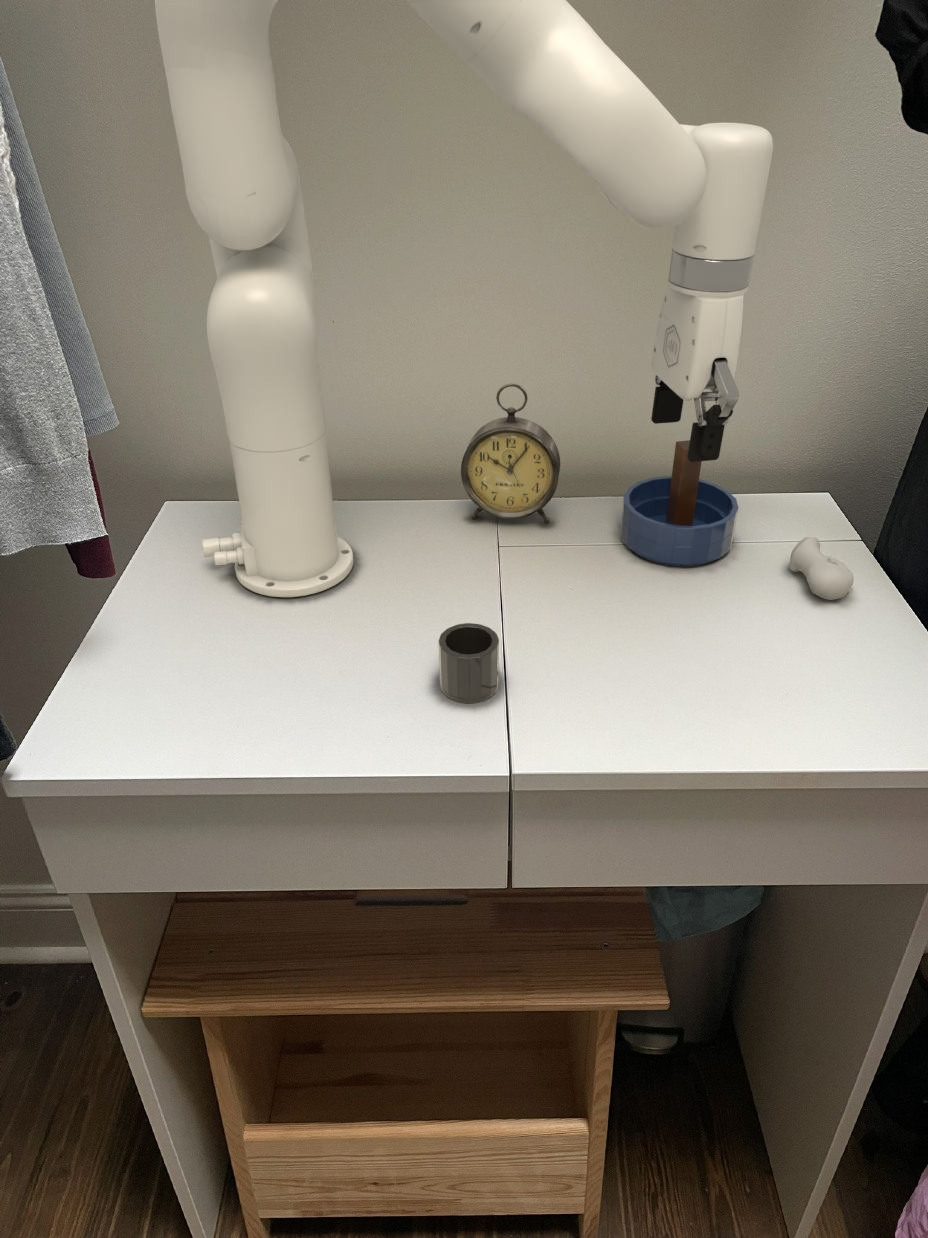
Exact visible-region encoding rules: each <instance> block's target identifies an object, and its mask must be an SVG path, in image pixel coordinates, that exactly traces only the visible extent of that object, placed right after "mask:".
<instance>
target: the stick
mask: <svg viewBox="0 0 928 1238" xmlns="http://www.w3.org/2000/svg"><path fill="white" fill-rule="evenodd" d="M689 443H690V439H689V440H679V441H675V446H674V447H675V448H674V454H673V462H672V471H671V476H672V478H671V486H670V494H669V502H668V510H667V518H666V523H667V524H672V525H680V526H692V525H693V518H694V511H695V504H696V497H697V490H698V483H699V479H700V476H701V468H702V462H703V461H698V462H690V461H689V459H688V458H687V456H688V449H689Z"/></svg>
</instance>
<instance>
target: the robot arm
mask: <svg viewBox="0 0 928 1238" xmlns="http://www.w3.org/2000/svg"><path fill="white" fill-rule="evenodd" d="M278 1H279V0H154V10H155V18H156V27H157V35H158V39H159V45H160V51H161V57H162V61H163V68H164V72H165V79H166V85H167V90H168V97H169V103H170V110H171V114H172V115H171V116H172V119H173V125H174V131H175V135H176V141H177V145H178V151H179V155H180V160H181V161H180V162H181V168H182V174H183V180H184V189H185V195H186V199H187V202H188V206H189V209H190V212H191V213H192V215H193V217H194V220H195V221H196V223H197V224H198V226H199V227H200V228H201V230H202V231H203V232H204V233H205V234H206V236H208V241H209V245H210V249H211V255H212V260H213V264H214V270H215V273H216V274H215V275H216V281H215V283H214V286H213V287H212V288H213V289H212V291H211V294H210V297H209V301H208V305H207V310H206V311H207V312H206V337H207V344H208V349H209V353H210V358H211V361H212V366H213V369H214V374H215V377H216V382H217V386H218V391H219V394H220V399H221V406H222V410H223V416H224V422H225V429H226V434H227V439H228V444H229V450H230V456H231V462H232V467H233V475H234V480H235V486H236V492H237V497H238V504H239V510H240V517H241V523H240V532H233V533H232V534H231V536H227V537H226V536H225V537H210V538H202V539H201V545H202V552H203V557H204V558H210V557H213V558H214V564H215V566H223V565H228V564H234V571H235V576H236V579H237V580H238V582H239V583H240V584H241V585H242V586H243V587H244V588H245V589H248V590H249V591H251V592H253V593H257V594H258V595H262V596H267V597H273V598H296V597H297V598H298V597H305V596H309V595H314V594H318V593H321V592H324V591H326V590H328V589H330V588H332V587H334V586H336V585H338V584H339V583H340V582H342V581H344V579H345V578H346V577H348V575H349V574H350V573H351V571H352V569H353V567H354V552H353V550H352V547H351V545H350V544H349V543H348V542H347V541H346V540H344V539H343V538H342V537H340V536H338V535H337V527H336V516H335V508H334V507H335V505H334V499H333V498H334V497H333V488H332V477H331V468H330V459H329V458H330V457H329V456H330V455H329V449H328V438H327V428H326V422H325V421H326V420H325V412H324V411H325V409H324V403H323V392H322V385H321V384H322V383H321V375H320V367H319V357H318V343H317V341H318V340H317V328H316V309H317V308H316V282H315V276H314V269H313V262H312V255H311V246H310V240H309V233H308V227H307V219H306V218H307V217H306V212H305V211H306V210H305V206H304V205H305V204H304V199H303V191H302V183H301V177H300V171H299V165H298V162H297V159H296V156H295V153H294V151H293V149H292V147H291V146H290V144H289V142H288V141H287V139H286V138H285V136H284V135H283V132H282V126H281V121H280V114H279V106H278V101H277V92H276V91H277V89H276V79H275V72H274V65H273V61H272V53H271V48H270V38H269V37H270V36H269V34H270V33H269V30H270V22H271V17H272V14H273V11H274V8H275V6H276V4H277V3H278ZM404 1H405V2H406V3H407V4H408V5H409V6H410V7H411V8H412V9H413V10H414V11H415V12H416V13H417V14H418V16H420V17H421V18H422V19H423V21H424V22H426V23H427V24H428V25H429V26H430V27H431V28H432V29H433V30H434V31H435V32H436V34H438V36H439V37H441V39H442V40H443V41H444V42H445V43H447V45H448V46H449V47H450V48H451V49H452V50H453V51H454V52H455V53H456V54H457V55H458V56H459V57H460V58H461V59H462V60H463V61H464V62H465V64H467V65H468V66H469V67H470V69H472V71H473V72H475V74H476V75H478V77H479V78H480V79H481V80H482V81H483V82H484V83H485V84H486V85H487V86H488V87H489V88H490V89H491V90H492V91H493V92H494V93H495V94H496V95H497V96H498V97H499V98H500V99H501V100H502V101H503V102H504V103H505V104H506V105H508V106H509V107H510V108H511V109H512V110H513V111H514V112H516V113H517V114H519V115H520V116H522V117H523V118H524V119H526V120H527V121H528V122H530V123H532V124H533V125H534V126H535V127H536V128H537V129H539V130H540V131H542V132H543V133H544V134H545V135H546V136H547V137H548V138H550V140H552V141H553V142H554V143H555V144H556V145H557V146H558V147H559V148H560V149H561V150H562V151H563V152H565V154H566V155H567V156H568V157H570V159H572V161H574V162H575V163H576V165H577V166H579V168H581V170H582V171H583V172H584V173H585V174H587V176H589V177H590V179H591V180H592V181H593V182H594V185H595V187H596V189H597V191H598V192H599V193H600V195H601V196H602V197H603V198H604V199H605V201H607V202H608V203H609V204H610V205H612V207H614V208H615V209H616V210H617V211H619V212H620V213H621V214H623V215H624V216H625V217H626V218H627V219H628V220H629V221H631V222H632V223H633V224H635V225H636V226H638V227H640V228H643V229H647V230H652V231H663V230H668V229H671V228H674V233H673V239H672V240H673V241H672V248H671V253H670V254H671V255H670V262H669V270H668V277H667V285H666V289H665V292H664V296H663V300H662V305H661V308H660V313H659V318H658V323H657V328H656V333H655V340H654V346H653V352H652V359H651V369H652V371H653V373H654V374H655V376H654V384H655V385H656V386H655V387H654V388H655V389H654V395H653V403H652V410H651V411H652V412H651V418H650V420H651V422H652V423H653V424H655V425H656V424H657V425H658V424H670V423H679V422H680V421H681V419H682V413H683V407H684V401H687V402H688V401H692V400H693V402H694V409H695V416H696V422H692V424H691V430H690V431H691V432H690V439H689V440H690V443H689V449H688V456H687V458H688V459H689V461H690V462H698V461H702V462H709V461H710V462H711V461H716V460H718V459H719V458H720V454H721V449H722V443H723V438H724V432H725V426H726V425H728V423H729V421H730V420H729V419H730V418H731V417H732V415H733V413H734V408H735V407H736V404H737V402H738V401H739V398H740V392H739V389H738V387H737V385H736V382H735V377H736V373H737V367H738V361H739V355H740V354H739V353H740V345H741V340H742V339H741V338H742V337H741V336H742V327H743V317H744V316H743V315H744V298H745V297H744V295H745V294H747V293H748V291H749V286H750V281H751V275H752V270H753V263H754V258H755V252H756V248H757V247H756V246H757V241H758V234H759V230H760V225H761V224H760V223H761V218H762V213H763V208H764V202H765V198H766V197H765V196H766V191H767V186H768V180H769V174H770V169H771V165H772V164H771V163H772V158H773V152H774V140H773V135H772V134H771V132H770V131H769V130H768V129H766V128H765V127H763V126H760V125H755V124H749V123H743V122H710V123H704V124H701V125H694V124H693V125H692V124H682V123H679V122H678V120H676V118H675V117H674V116H673V115H672V114H671V113H670V112H669V111H668V109H667V108H666V107H665V106H664V105H663V104H662V103H661V101H660V100H659V99H658V98H657V97H656V96H655V94H654V93H653V92H652V91H651V90H650V89H649V88H648V87H647V86H646V85H645V84H644V83H643V81H641V79H640V78H639V77H638V76H637V75H636V74H635V73H634V72H633V71H632V70H631V69H630V68H629V66H627V64H625V62H624V61H623V60H621V59H620V57H619V56H618V55H616V53H615V52H614V51H613V50H612V49H611V48H610V47H609V46H608V45H607V44H606V43H605V42H604V40H602V38H601V37H600V36H599V35H598V33H596V31H595V30H594V29H593V27H592V26H591V25H590V24H589V23H588V22H587V20H585V18H583V16H582V15H581V14H580V13H579V12H578V11H577V10H576V9H575V8H574V7H573V6H572V5H571V4H570V3H569V2H568V1H567V0H404ZM704 390H710V391H704ZM714 401H715V404H713V405H712V406H710V407H709V409H707V407H706V402H714Z"/></svg>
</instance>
